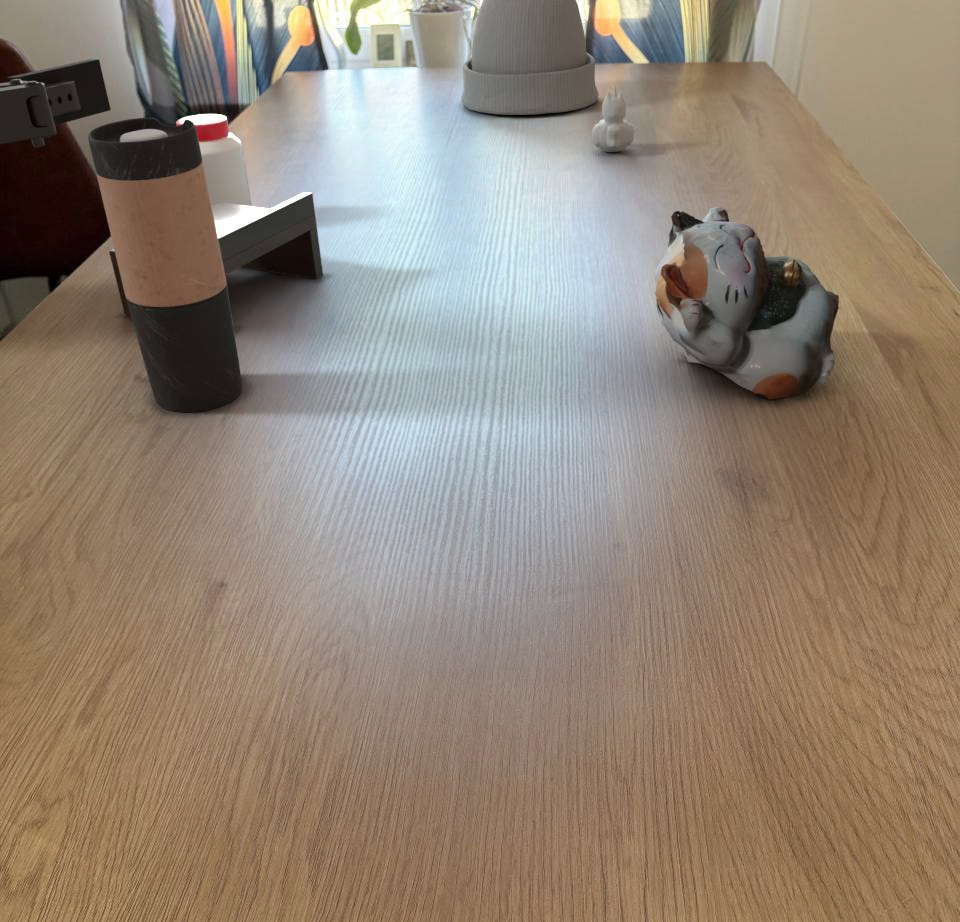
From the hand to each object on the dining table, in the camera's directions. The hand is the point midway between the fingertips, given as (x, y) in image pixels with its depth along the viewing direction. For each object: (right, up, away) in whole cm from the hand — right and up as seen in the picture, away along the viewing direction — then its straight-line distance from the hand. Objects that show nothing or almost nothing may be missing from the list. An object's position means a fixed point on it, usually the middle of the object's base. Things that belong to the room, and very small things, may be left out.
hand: (16, 83), depth 66 cm
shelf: (+4, 0, +39) cm, 39 cm away
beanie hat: (+36, +48, +100) cm, 116 cm away
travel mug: (+6, -14, +21) cm, 27 cm away
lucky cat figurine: (+50, -13, +21) cm, 56 cm away
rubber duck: (+46, +30, +75) cm, 93 cm away
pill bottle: (-1, +13, +57) cm, 59 cm away
